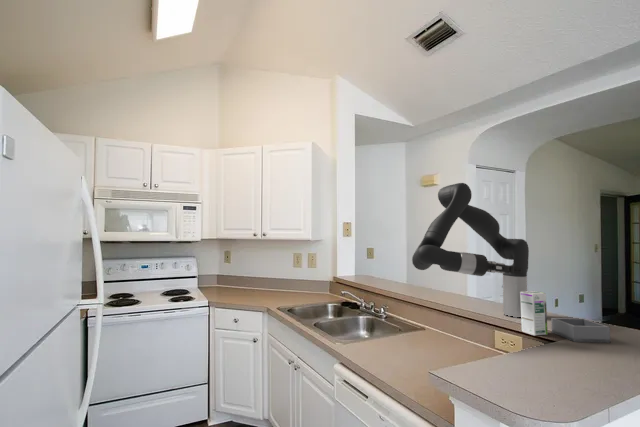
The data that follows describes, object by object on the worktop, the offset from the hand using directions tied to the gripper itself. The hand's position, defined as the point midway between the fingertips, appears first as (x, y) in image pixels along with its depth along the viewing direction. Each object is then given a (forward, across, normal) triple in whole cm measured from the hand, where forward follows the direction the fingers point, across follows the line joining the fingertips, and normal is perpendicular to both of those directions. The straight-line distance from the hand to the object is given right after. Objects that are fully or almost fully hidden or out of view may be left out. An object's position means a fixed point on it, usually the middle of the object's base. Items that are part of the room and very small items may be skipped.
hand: (514, 270), depth 125 cm
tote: (+22, -4, +20) cm, 30 cm away
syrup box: (+10, +1, +21) cm, 24 cm away
